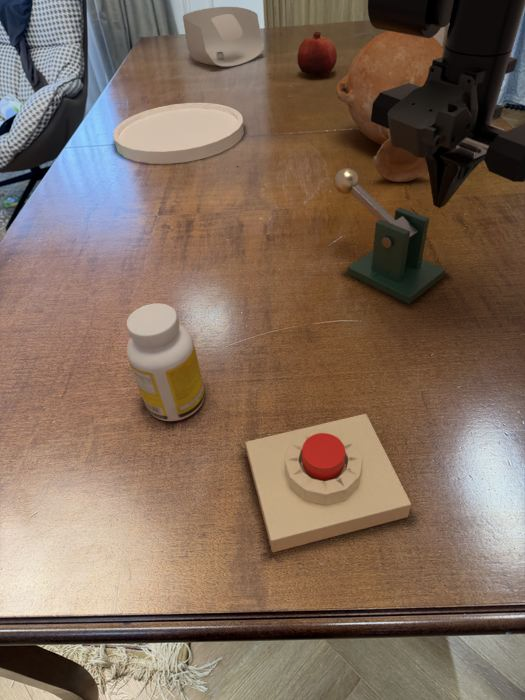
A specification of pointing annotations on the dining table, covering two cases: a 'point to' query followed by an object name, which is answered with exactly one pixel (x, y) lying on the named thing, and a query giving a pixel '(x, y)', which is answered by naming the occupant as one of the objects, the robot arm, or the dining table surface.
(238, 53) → the grey curved shell
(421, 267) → the bracket
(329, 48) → the fruit
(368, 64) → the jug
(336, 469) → the button
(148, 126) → the plate
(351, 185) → the lever
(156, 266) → the dining table surface
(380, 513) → the button box
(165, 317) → the pill bottle
